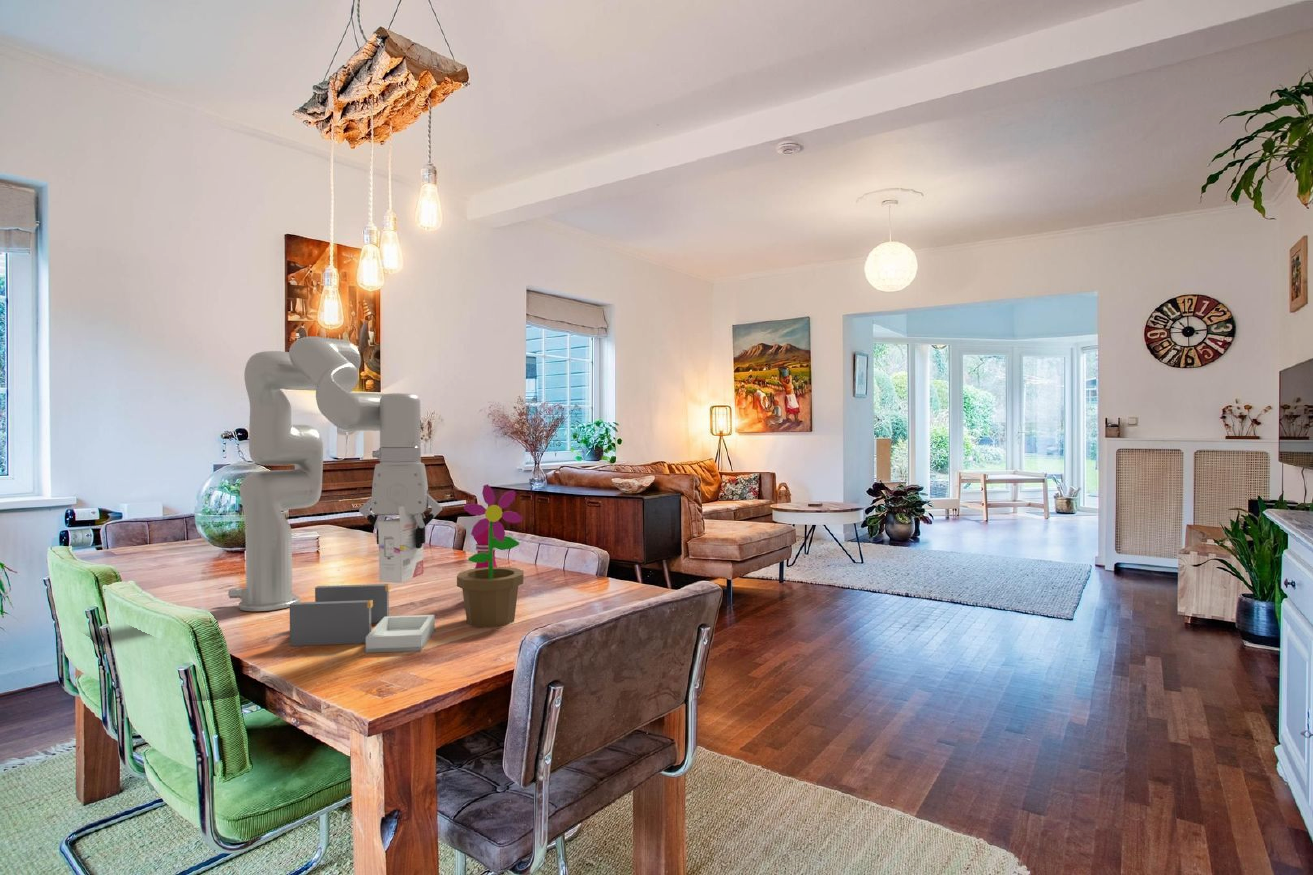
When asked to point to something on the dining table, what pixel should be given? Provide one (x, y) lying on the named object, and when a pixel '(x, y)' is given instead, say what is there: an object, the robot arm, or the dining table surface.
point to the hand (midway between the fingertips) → (401, 546)
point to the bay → (338, 614)
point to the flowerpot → (491, 567)
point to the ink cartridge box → (399, 549)
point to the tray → (400, 634)
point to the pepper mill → (484, 547)
